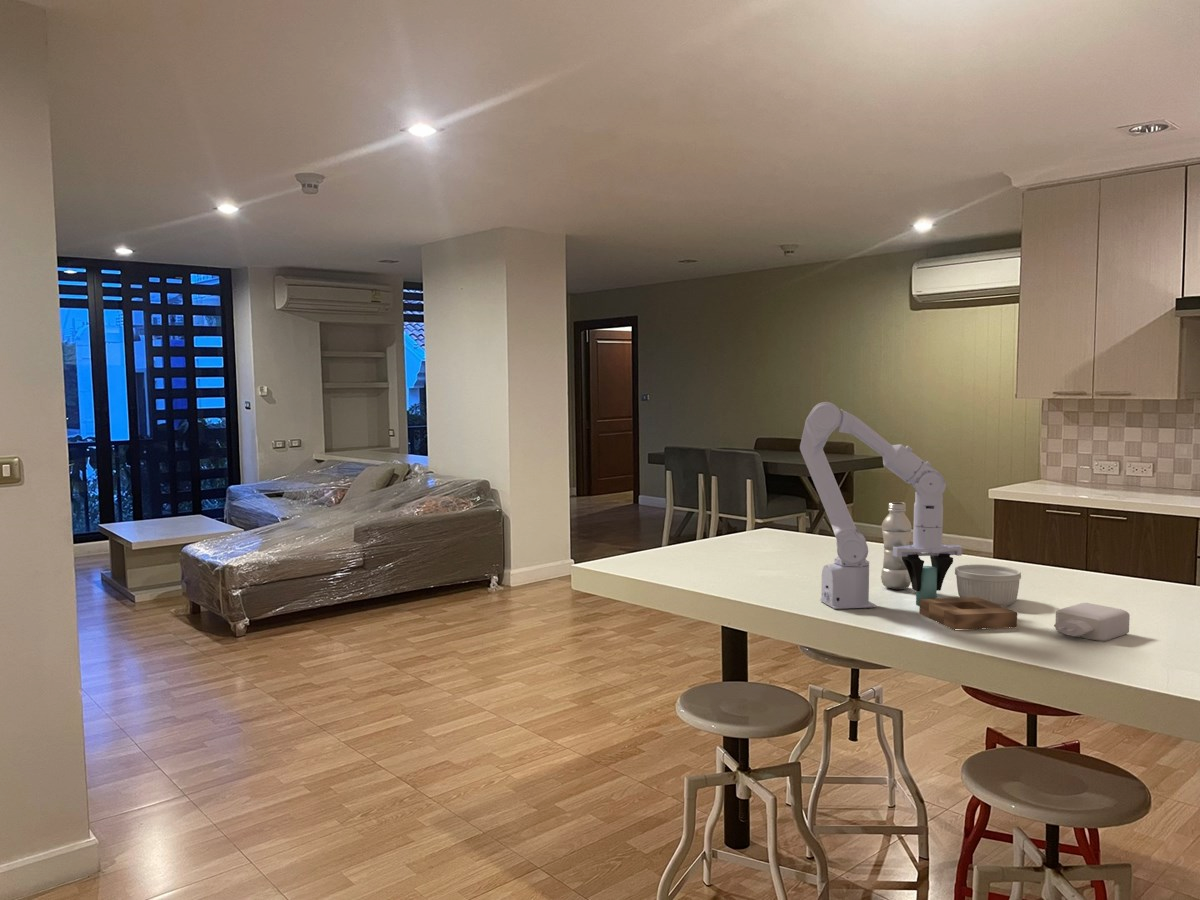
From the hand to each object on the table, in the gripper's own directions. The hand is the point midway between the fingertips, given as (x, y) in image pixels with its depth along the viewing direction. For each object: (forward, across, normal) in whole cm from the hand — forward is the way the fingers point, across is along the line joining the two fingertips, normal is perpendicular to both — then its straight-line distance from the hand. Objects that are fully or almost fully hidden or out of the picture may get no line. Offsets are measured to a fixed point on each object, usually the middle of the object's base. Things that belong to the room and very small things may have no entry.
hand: (926, 589), depth 179 cm
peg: (+3, 0, 0) cm, 3 cm away
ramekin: (+4, +17, +5) cm, 18 cm away
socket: (+4, +3, -10) cm, 11 cm away
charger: (+4, +18, -23) cm, 30 cm away
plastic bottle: (+4, +3, +19) cm, 20 cm away
